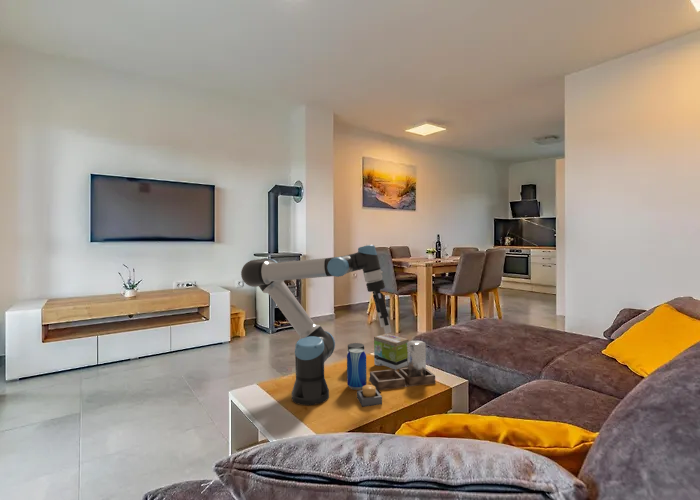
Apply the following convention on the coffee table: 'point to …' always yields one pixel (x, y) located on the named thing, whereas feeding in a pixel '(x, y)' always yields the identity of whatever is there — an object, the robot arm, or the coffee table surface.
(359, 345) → the jar
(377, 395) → the button housing
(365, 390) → the button
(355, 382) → the beer can
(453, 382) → the coffee table surface
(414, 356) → the billet
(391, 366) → the tea box
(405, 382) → the tray
